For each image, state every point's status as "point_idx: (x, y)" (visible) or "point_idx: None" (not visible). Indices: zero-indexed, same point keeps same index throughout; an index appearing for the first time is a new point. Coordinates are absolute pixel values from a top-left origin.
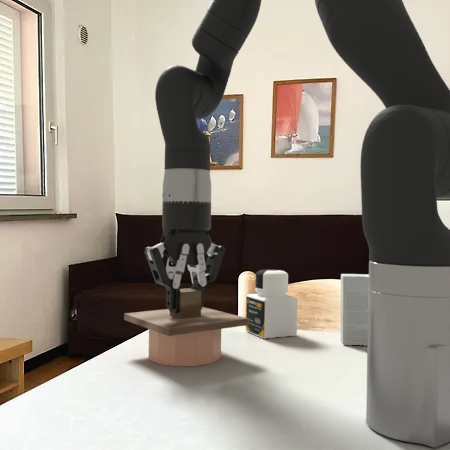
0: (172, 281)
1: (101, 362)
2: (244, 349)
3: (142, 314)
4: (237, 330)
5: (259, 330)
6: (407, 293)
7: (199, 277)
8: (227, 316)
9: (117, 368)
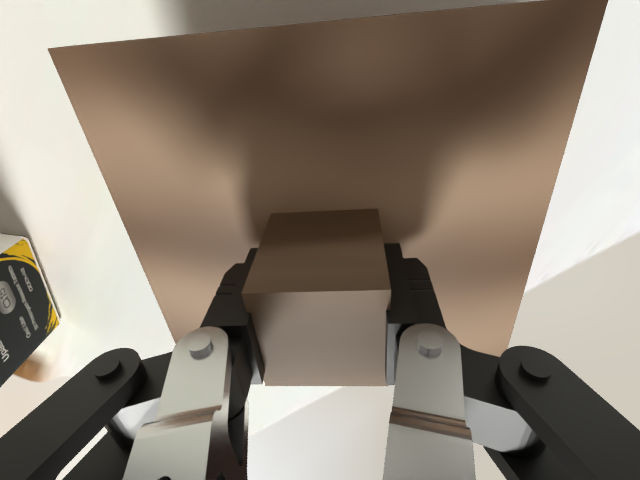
0: (460, 371)
1: (565, 239)
2: None
3: None
4: (82, 338)
5: (22, 269)
6: None
7: (221, 381)
8: (148, 156)
9: (575, 165)
